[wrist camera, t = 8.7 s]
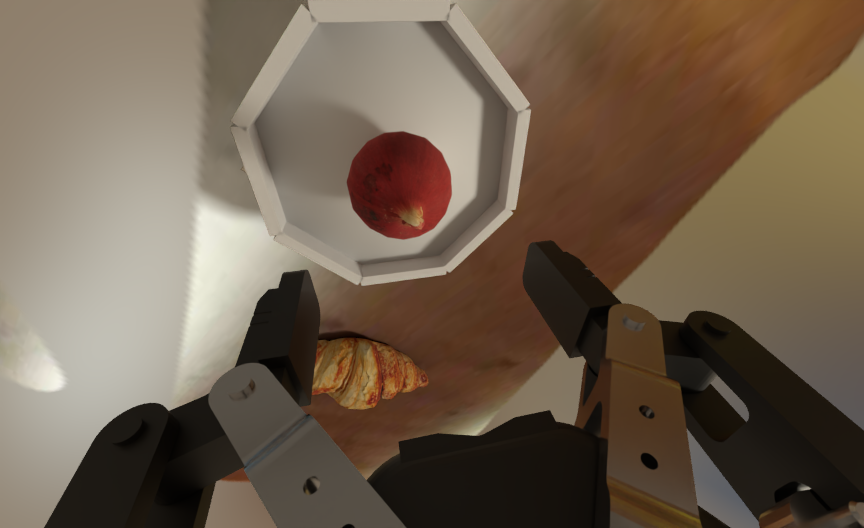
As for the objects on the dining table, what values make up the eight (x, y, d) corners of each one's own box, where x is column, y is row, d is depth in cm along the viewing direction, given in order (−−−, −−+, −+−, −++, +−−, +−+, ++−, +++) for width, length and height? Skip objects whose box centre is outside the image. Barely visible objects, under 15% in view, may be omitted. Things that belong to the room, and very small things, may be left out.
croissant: (271, 337, 43) (252, 402, 39) (278, 316, 35) (255, 394, 31) (415, 361, 51) (411, 416, 47) (446, 347, 43) (444, 412, 39)
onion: (359, 211, 22) (359, 281, 16) (339, 124, 19) (329, 169, 13) (440, 199, 23) (471, 262, 17) (434, 113, 20) (471, 150, 13)
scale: (364, -60, 20) (371, -113, 13) (514, 127, 29) (570, 160, 22) (235, 145, 25) (186, 193, 18) (395, 251, 34) (407, 312, 27)
